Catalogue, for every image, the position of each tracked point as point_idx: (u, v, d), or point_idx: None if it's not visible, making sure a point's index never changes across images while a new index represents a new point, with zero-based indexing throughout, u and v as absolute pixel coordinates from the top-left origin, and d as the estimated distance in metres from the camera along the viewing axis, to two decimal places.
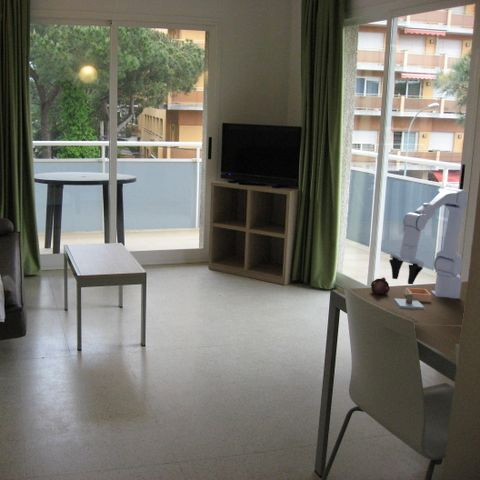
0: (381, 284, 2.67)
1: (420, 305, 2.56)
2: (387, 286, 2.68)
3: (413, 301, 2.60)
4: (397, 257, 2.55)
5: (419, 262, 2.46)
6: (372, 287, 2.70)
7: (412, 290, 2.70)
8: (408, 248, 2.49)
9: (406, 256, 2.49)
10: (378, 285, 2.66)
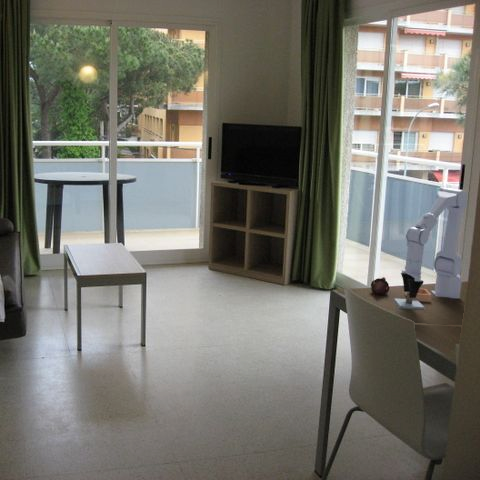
0: (381, 284, 2.67)
1: (420, 305, 2.56)
2: (387, 286, 2.69)
3: (413, 301, 2.60)
4: None
5: (415, 277, 2.49)
6: (372, 287, 2.71)
7: None
8: (409, 262, 2.53)
9: (407, 270, 2.54)
10: (378, 285, 2.66)
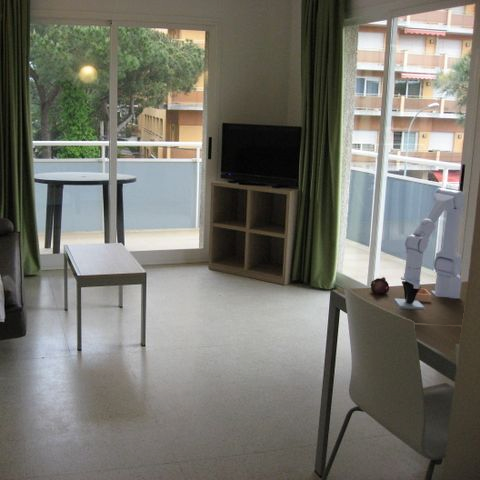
0: (381, 284, 2.67)
1: (420, 305, 2.56)
2: (387, 286, 2.69)
3: None
4: None
5: (414, 284, 2.49)
6: (372, 287, 2.71)
7: None
8: (408, 270, 2.53)
9: (406, 277, 2.54)
10: (378, 285, 2.66)
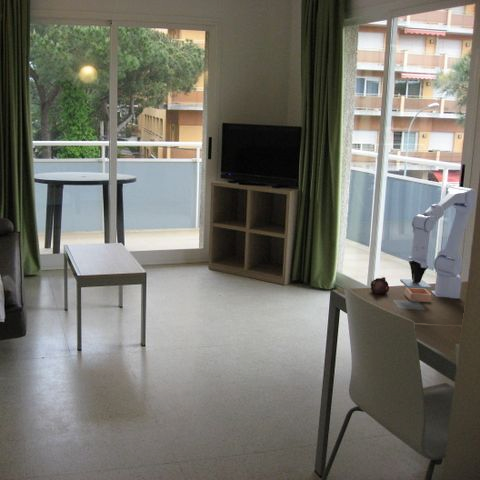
0: (380, 284, 2.67)
1: (427, 285, 2.59)
2: (386, 286, 2.69)
3: None
4: None
5: (421, 263, 2.53)
6: (372, 287, 2.71)
7: (412, 290, 2.70)
8: (415, 249, 2.57)
9: (414, 257, 2.57)
10: (377, 285, 2.67)
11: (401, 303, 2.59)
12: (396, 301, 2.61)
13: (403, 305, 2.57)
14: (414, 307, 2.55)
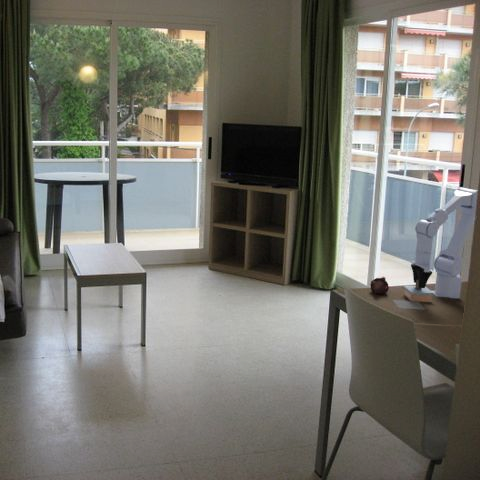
0: (380, 283, 2.68)
1: (430, 291, 2.64)
2: (386, 285, 2.69)
3: None
4: None
5: (424, 268, 2.58)
6: (371, 286, 2.71)
7: None
8: (418, 254, 2.62)
9: (417, 261, 2.62)
10: (377, 284, 2.67)
11: (401, 303, 2.59)
12: (396, 301, 2.61)
13: (403, 305, 2.57)
14: (414, 307, 2.55)
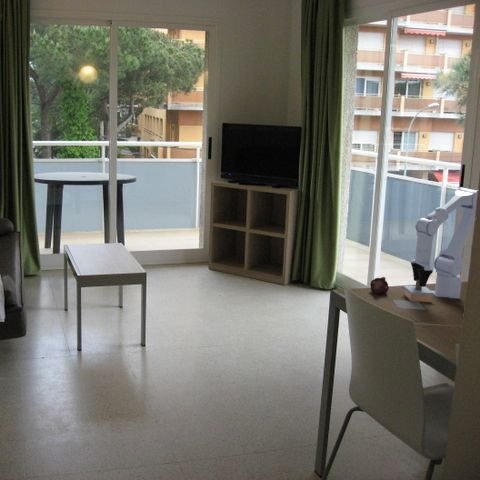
0: (380, 283, 2.68)
1: (430, 291, 2.64)
2: (386, 285, 2.69)
3: (422, 287, 2.69)
4: None
5: (424, 266, 2.57)
6: (371, 286, 2.71)
7: None
8: (418, 252, 2.61)
9: (417, 260, 2.62)
10: (377, 284, 2.67)
11: (401, 303, 2.59)
12: (396, 301, 2.61)
13: (403, 305, 2.57)
14: (414, 307, 2.55)
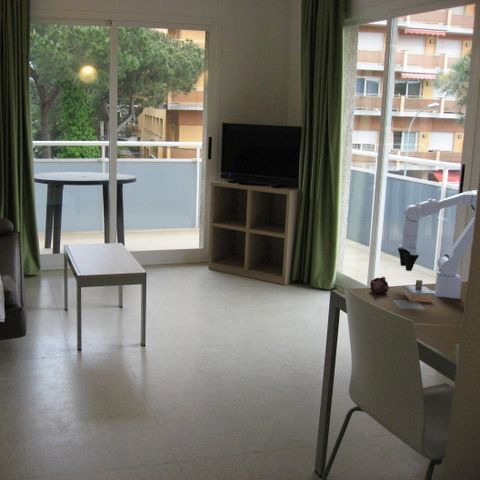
0: (380, 283, 2.68)
1: (430, 291, 2.64)
2: (386, 285, 2.69)
3: (422, 287, 2.69)
4: None
5: (410, 251, 2.66)
6: (371, 286, 2.72)
7: None
8: (405, 238, 2.70)
9: (404, 245, 2.71)
10: (377, 284, 2.67)
11: (401, 303, 2.59)
12: (396, 301, 2.61)
13: (403, 305, 2.57)
14: (414, 307, 2.55)
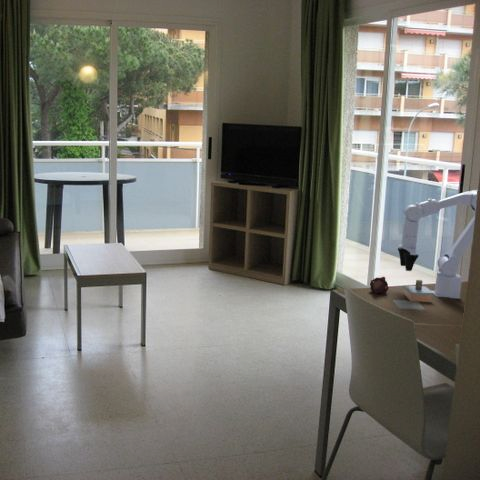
0: (380, 283, 2.68)
1: (430, 291, 2.64)
2: (386, 285, 2.70)
3: (422, 287, 2.69)
4: None
5: (410, 251, 2.66)
6: (371, 286, 2.72)
7: None
8: (405, 238, 2.70)
9: (404, 245, 2.71)
10: (376, 284, 2.67)
11: (401, 303, 2.59)
12: (396, 301, 2.61)
13: (403, 305, 2.57)
14: (414, 307, 2.55)
